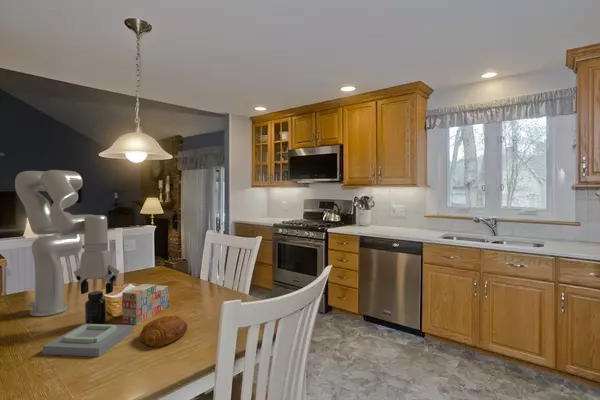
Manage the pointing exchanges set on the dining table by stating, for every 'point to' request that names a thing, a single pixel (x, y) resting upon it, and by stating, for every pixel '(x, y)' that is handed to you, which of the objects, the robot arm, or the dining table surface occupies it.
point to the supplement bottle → (95, 308)
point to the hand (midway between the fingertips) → (97, 293)
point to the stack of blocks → (143, 302)
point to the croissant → (163, 331)
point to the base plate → (88, 340)
